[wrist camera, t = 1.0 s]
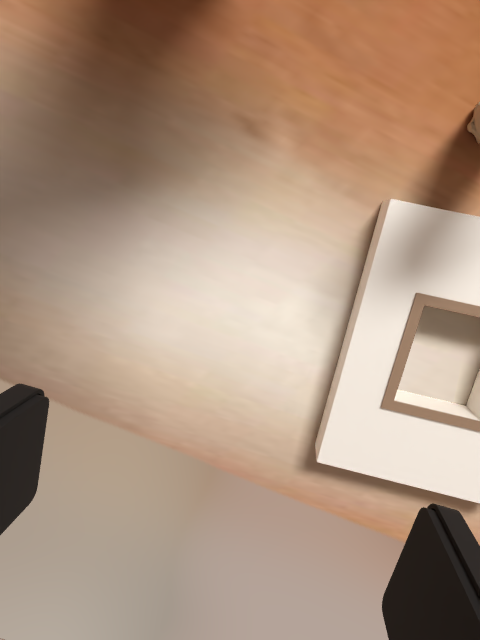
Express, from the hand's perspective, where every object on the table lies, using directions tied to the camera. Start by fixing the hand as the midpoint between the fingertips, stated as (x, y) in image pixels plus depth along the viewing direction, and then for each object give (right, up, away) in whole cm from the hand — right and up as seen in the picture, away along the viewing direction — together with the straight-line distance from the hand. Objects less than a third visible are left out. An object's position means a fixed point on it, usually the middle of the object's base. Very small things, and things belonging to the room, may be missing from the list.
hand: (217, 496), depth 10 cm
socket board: (+17, +1, +25) cm, 30 cm away
